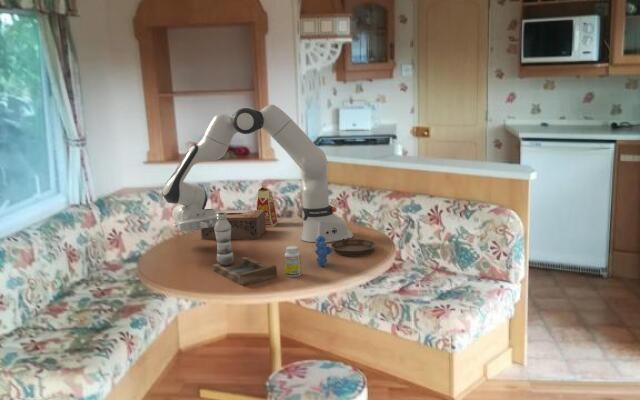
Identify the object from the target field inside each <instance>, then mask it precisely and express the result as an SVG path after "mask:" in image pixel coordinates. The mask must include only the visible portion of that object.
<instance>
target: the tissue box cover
mask: <svg viewBox="0 0 640 400" xmlns="http://www.w3.org/2000/svg"><path fill="white" fill-rule="evenodd" d="M214 210H215V211H218V212H221V213H226V215H227V221H228V222H229V223H230V225H231V240H259V239H260V238H261V236H262V235H263V234H264V233H265V232H266V231H267V230H266V228H267V227H266V226H265V211H264V210H257V209H237V210H235V209H231V210H230V209H227V210H225V209H224V210H223V209H222V210H220V209H219V210H216V209H214ZM200 231H201V232H200V233H201V234H200V236H201V240H216V235H215V231H214V226H213V227H209V228H202V229H201V230H200Z"/></svg>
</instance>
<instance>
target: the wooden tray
mask: <svg viewBox="0 0 640 400" xmlns="http://www.w3.org/2000/svg"><path fill="white" fill-rule="evenodd" d="M212 271H213V272H215V273H217V274H219V275H221V276H223V277H225V278H226V279H228V280H230V281H232V282H234V283H236V284H238V285H240V286H242V287H245V286H247V285H252V284H255V283H256V284H257V283H258V282H264V281H266V280H271V279H274V278H277V277H278V274H277V273H278V272H277V265H275V264H273V265H269V266H267V265H265V264H262V263H260V262H258V261H257V260H254V259H251V258H249V257H247V256H244V257H241V264H236V265H233V266H228V267H224V266H223V265H219V264H218V263H214V264H213V263H212Z"/></svg>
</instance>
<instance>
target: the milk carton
mask: <svg viewBox="0 0 640 400" xmlns="http://www.w3.org/2000/svg"><path fill="white" fill-rule="evenodd" d="M256 210H264V211H265V226H266V228H274V227H275V226H276V225H277V224H278V216H277V212H276V211H277V210H276V206H275V200H274V197H273V191H272V190H271V189H269V188H268V187H267V185H266V184H265V185H264V184H261V187H260V188H259V189H258V191H257V198H256Z"/></svg>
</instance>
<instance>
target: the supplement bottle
mask: <svg viewBox="0 0 640 400" xmlns="http://www.w3.org/2000/svg"><path fill="white" fill-rule="evenodd" d="M285 249H286V250H285V251H286V252H285V253H284V265H285V267H284V268H285V269H284V270H285V275H286V276H287V277H289V278H296V277H299V276H301V274H302V266H301V263H302V262H301V252H300V251H298V250H299V249H298V246H296V245H289V246H287V247H286V248H285Z"/></svg>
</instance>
